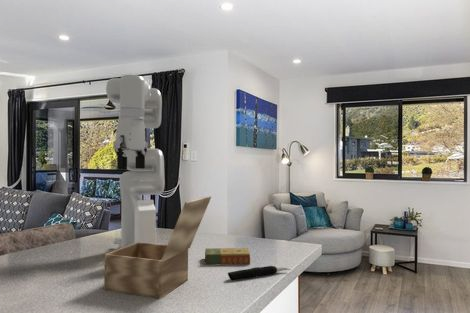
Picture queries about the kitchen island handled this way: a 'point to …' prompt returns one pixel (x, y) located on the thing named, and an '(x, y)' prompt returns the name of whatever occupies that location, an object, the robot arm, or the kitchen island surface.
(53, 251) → the kitchen island surface
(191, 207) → the lid flap
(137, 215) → the milk
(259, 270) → the black handled hook tool
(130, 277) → the wooden box
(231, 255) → the carton
